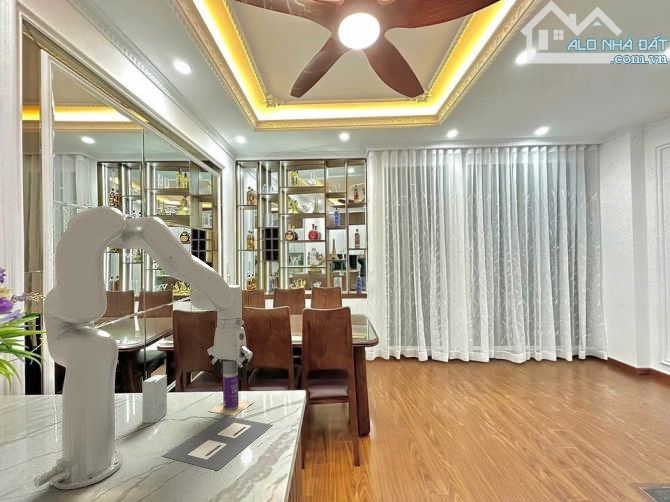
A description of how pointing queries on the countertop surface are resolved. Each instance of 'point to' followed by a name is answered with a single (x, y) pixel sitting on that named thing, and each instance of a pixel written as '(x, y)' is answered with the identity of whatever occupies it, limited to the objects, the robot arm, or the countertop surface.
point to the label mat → (218, 442)
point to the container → (230, 385)
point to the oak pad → (233, 412)
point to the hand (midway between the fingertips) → (229, 377)
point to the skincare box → (154, 398)
